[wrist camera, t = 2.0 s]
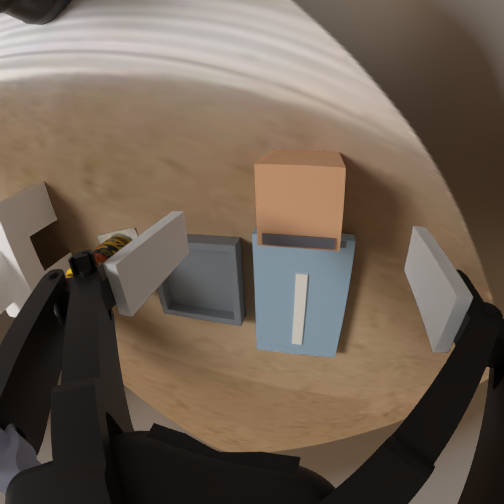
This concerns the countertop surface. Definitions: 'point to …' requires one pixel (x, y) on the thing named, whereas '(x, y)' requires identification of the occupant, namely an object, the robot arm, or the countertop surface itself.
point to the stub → (300, 199)
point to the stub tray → (207, 281)
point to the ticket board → (301, 296)
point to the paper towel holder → (23, 246)
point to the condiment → (110, 245)
